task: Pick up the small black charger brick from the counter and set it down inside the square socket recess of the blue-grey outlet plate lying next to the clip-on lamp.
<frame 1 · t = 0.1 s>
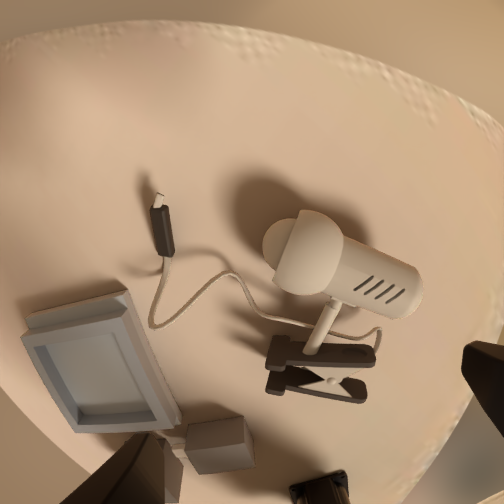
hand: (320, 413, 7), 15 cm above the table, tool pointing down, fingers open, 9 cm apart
charger brick: (154, 454, 25), on the table
cable plug: (221, 432, 25), on the table
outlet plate: (103, 368, 23), on the table
clip-on lamp: (270, 285, 22), on the table
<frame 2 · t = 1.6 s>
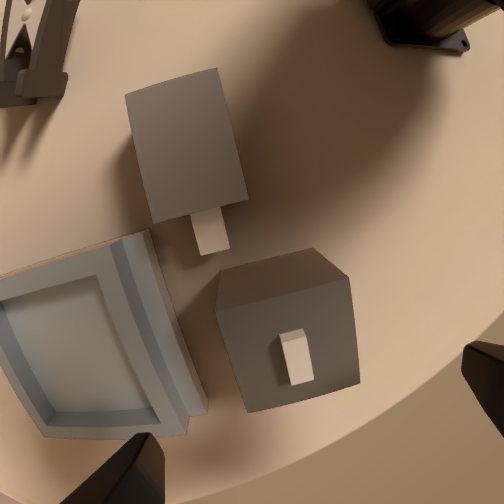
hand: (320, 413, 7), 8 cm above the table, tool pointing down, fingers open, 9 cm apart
charger brick: (276, 302, 15), on the table
cable plug: (195, 152, 14), on the table
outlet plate: (82, 343, 15), on the table
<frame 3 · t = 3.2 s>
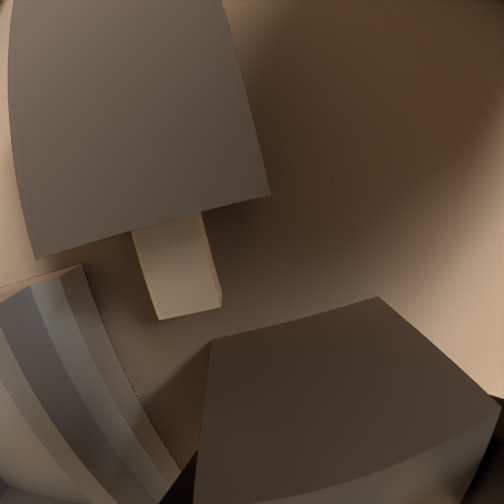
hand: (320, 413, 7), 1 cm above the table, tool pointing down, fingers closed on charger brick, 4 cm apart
charger brick: (310, 386, 8), on the table, touching gripper
cable plug: (158, 108, 7), on the table
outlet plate: (20, 417, 8), on the table
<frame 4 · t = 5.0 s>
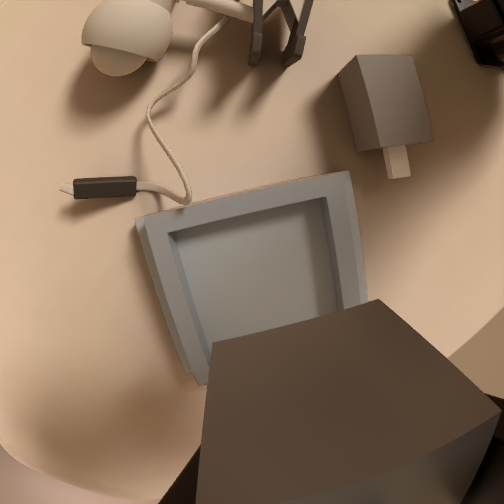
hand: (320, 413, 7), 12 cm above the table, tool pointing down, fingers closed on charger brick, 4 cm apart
charger brick: (311, 388, 8), point 11 cm above the table, touching gripper
cable plug: (372, 109, 17), on the table
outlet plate: (260, 275, 19), on the table
clip-on lamp: (184, 71, 16), on the table
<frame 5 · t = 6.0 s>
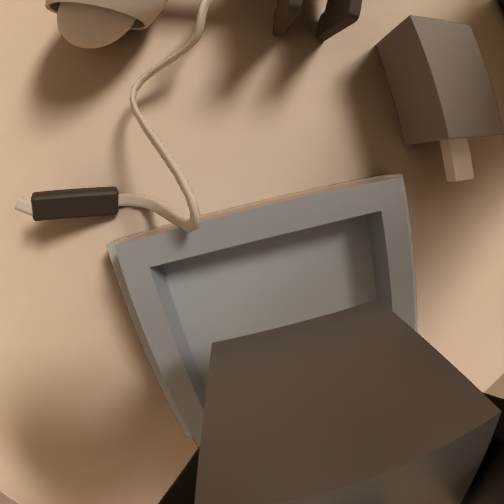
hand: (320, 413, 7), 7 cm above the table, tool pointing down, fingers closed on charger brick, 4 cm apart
charger brick: (310, 388, 8), point 5 cm above the table, touching gripper
cable plug: (419, 92, 12), on the table
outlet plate: (281, 315, 14), on the table
clip-on lamp: (184, 42, 11), on the table
when the fingers open (4 cm above the table, at t = 6.9 s): charger brick drops 1 cm, resting on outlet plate.
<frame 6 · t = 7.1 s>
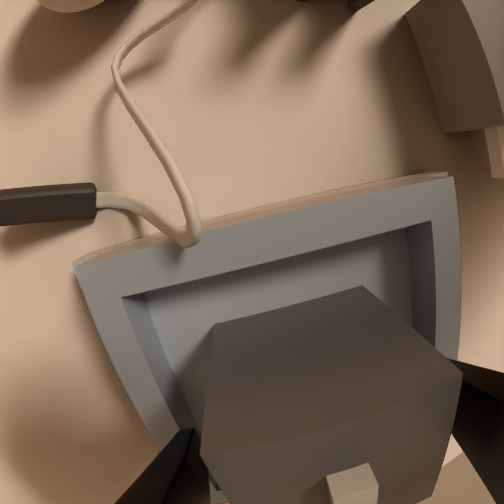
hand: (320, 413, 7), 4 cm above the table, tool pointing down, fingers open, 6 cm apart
charger brick: (303, 367, 9), point 1 cm above the table, touching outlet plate
cable plug: (455, 72, 9), on the table
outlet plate: (295, 348, 11), on the table
clip-on lamp: (186, 7, 8), on the table
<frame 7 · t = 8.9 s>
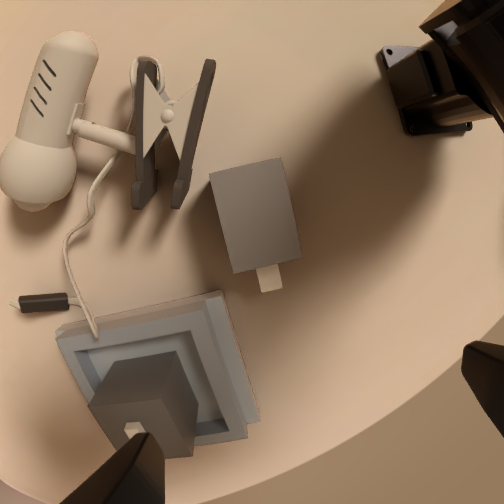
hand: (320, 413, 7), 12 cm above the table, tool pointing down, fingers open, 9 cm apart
charger brick: (156, 384, 19), point 1 cm above the table, touching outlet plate
cable plug: (252, 210, 18), on the table
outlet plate: (158, 373, 20), on the table
clip-on lamp: (96, 194, 18), on the table
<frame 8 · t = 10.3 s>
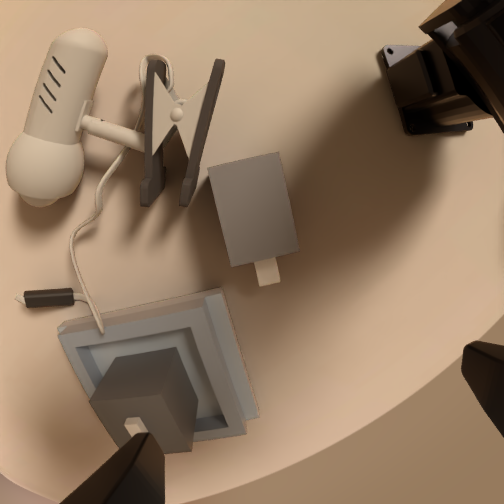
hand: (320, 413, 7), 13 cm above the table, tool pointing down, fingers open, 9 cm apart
charger brick: (156, 380, 19), point 1 cm above the table, touching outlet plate
cable plug: (251, 205, 19), on the table
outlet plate: (159, 369, 20), on the table
clip-on lamp: (103, 191, 18), on the table
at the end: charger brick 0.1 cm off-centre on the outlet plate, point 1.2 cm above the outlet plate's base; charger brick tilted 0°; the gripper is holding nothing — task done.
